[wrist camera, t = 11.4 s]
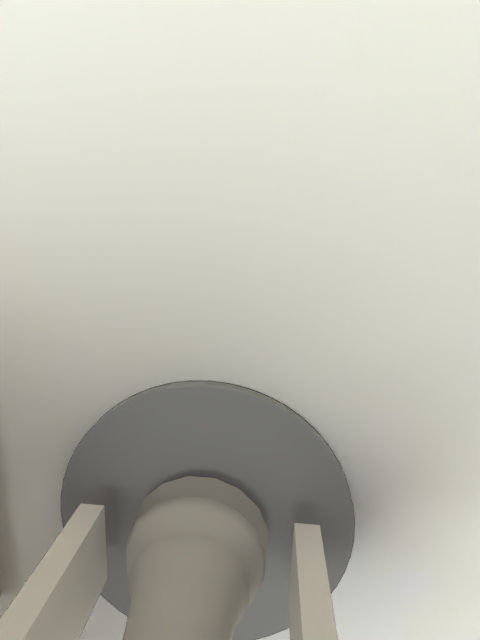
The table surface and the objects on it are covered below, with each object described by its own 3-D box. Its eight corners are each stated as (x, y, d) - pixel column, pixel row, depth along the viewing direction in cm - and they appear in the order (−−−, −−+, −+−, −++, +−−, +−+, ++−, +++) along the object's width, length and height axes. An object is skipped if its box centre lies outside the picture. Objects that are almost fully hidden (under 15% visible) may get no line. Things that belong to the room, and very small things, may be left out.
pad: (75, 615, 15) (69, 627, 15) (59, 370, 13) (51, 376, 13) (337, 644, 15) (339, 658, 14) (367, 391, 12) (371, 398, 12)
